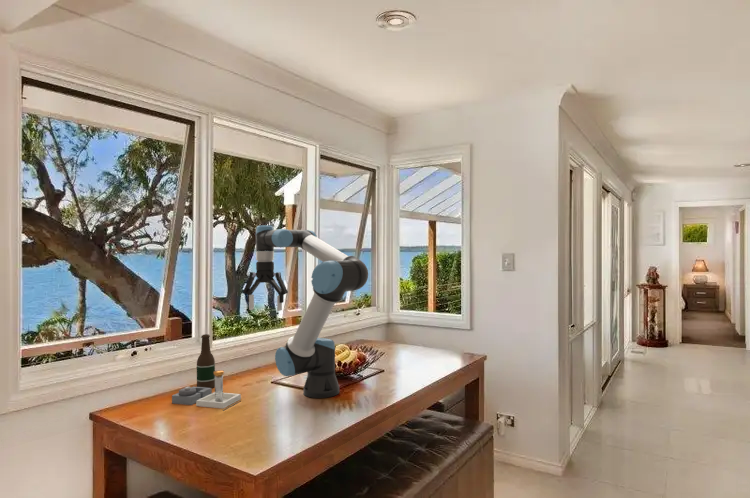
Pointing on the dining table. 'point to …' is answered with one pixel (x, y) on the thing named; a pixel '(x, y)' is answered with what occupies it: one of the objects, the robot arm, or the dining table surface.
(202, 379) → the beer bottle
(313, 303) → the robot arm
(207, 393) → the block
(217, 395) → the lock pin
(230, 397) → the tray
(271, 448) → the dining table surface
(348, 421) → the dining table surface
